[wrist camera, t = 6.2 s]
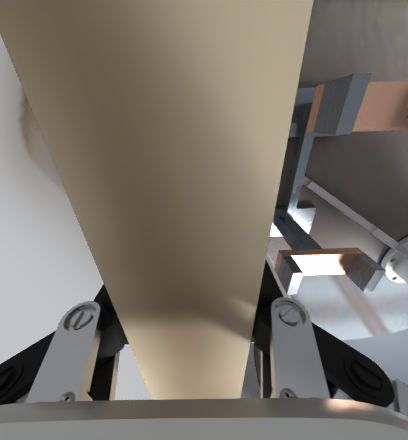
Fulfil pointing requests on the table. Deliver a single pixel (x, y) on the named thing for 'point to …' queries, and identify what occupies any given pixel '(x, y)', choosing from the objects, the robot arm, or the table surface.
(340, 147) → the table surface
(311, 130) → the grey support stand
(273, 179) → the rail
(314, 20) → the table surface
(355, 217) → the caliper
